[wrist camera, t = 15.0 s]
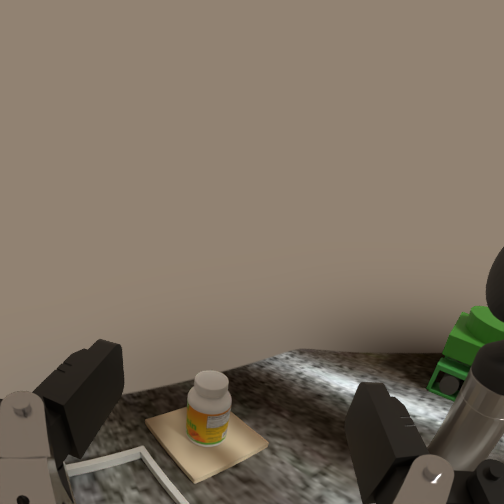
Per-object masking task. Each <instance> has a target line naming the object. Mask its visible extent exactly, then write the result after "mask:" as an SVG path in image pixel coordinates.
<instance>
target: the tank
mask: <svg viewBox="0 0 504 504" xmlns="http://www.w3.org/2000/svg"><path fill="white" fill-rule="evenodd" d="M500 340H504V322H501V321H500V320H498V319H497V318H496V317H494V316H493V314H492V313H491V312H490V310H489V308H488V307H484V306H474V307H473V308H471V311H470V314H467V313H464V312H462V313H461V315H460V317H459V319H458V321H457V323H456V324H455V326H454V328H453V330H452V331H451V333H450V335H449V337H448V340H447V342H446V345H445V347H444V350H443V352H442V354H443V355H445V357H444V358H442V357H441V359H440V361H439V362H438V364H437V366H436V368H435V371H434V373H433V375H432V377H431V379H430V381H429V384H428V386H427V388H426V389H428V390H429V391H430V392H432V393H434V394H437V395H439V396H442V397H444V398H447V399H449V400H452V401H455V399H456V397H457V395H458V393H459V391H458V390H457V389H458V387H459V385H460V382H461V379H462V380H465V379H466V377H467V374H468V372H469V370H470V368H471V366H472V363H473V361H474V359H475V356H476V354H477V352H478V350H479V349H480V348H481V347H482V346H483V345H485V344H487V343H491V342H496V341H500ZM440 370H441V371H443V372H446V373H445V374H444V376H443V378H442V380H441V381H440V383H438V382H436V381H435V380H436V378H437V376H438V373H439V371H440Z"/></svg>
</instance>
